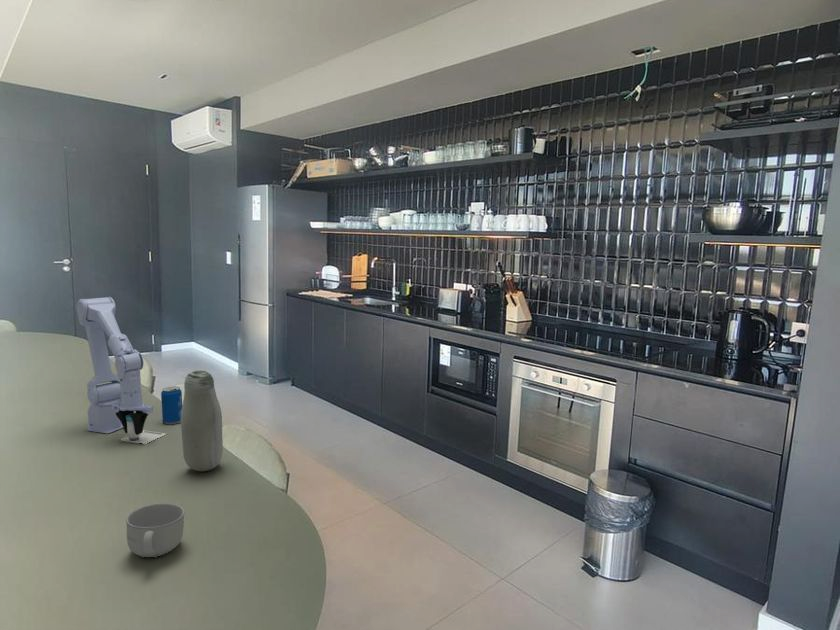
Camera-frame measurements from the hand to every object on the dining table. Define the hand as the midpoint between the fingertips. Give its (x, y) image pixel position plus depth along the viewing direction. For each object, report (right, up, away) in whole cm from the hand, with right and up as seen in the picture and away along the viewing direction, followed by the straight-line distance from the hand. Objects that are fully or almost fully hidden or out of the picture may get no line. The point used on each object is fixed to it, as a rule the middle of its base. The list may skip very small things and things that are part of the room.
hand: (133, 432), depth 171 cm
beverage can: (+4, 0, +18) cm, 18 cm away
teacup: (+36, -12, -60) cm, 71 cm away
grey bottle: (+30, -6, -20) cm, 37 cm away
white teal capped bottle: (0, -2, 0) cm, 2 cm away
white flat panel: (+2, -2, +3) cm, 4 cm away
